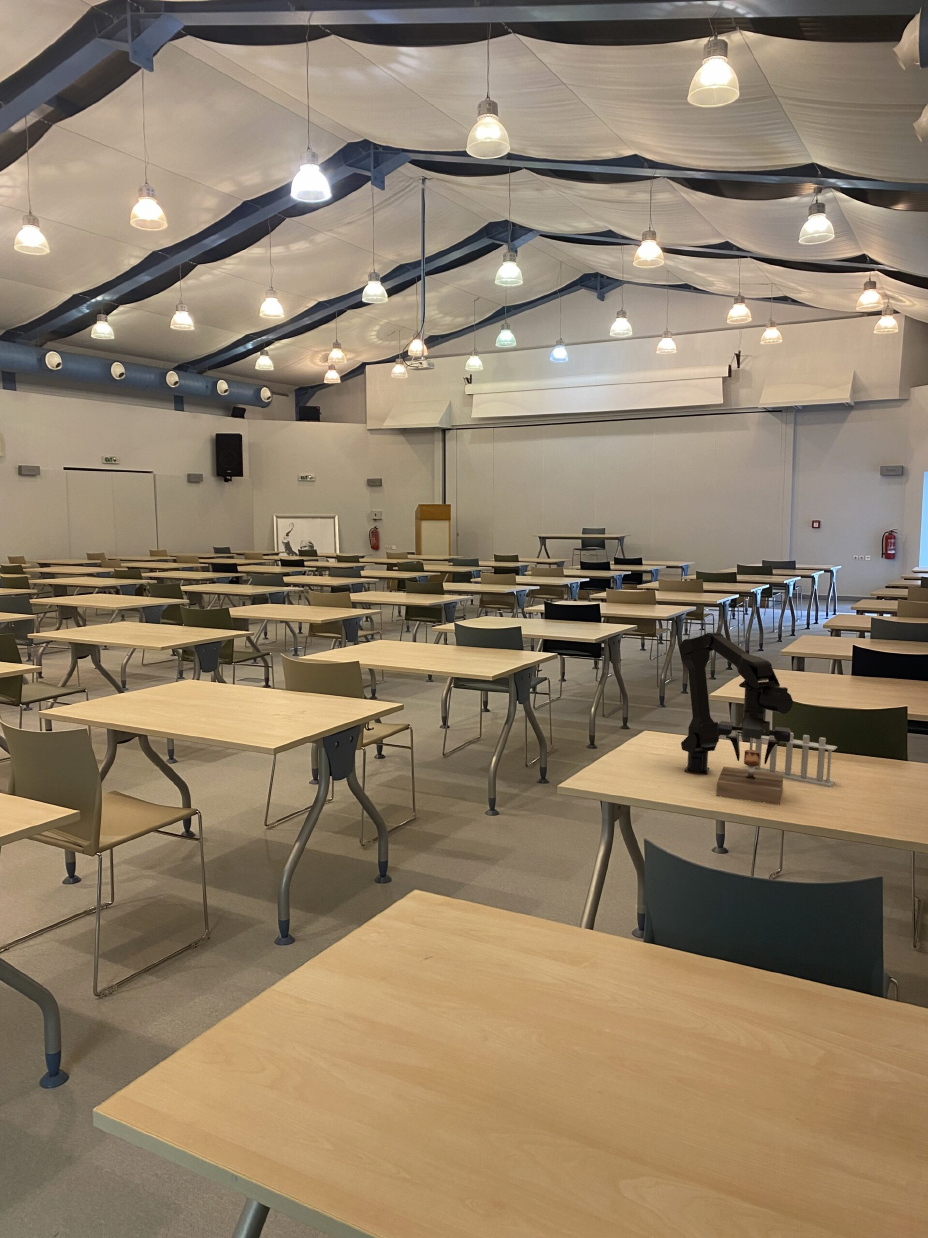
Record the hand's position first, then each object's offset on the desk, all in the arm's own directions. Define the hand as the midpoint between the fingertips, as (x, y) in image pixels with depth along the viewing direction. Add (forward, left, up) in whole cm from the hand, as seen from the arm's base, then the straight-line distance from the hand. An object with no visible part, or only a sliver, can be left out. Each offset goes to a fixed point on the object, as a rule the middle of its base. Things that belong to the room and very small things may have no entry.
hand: (751, 762), depth 227 cm
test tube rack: (-20, +9, -9) cm, 24 cm away
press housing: (0, 0, -8) cm, 8 cm away
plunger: (0, 0, -5) cm, 5 cm away
